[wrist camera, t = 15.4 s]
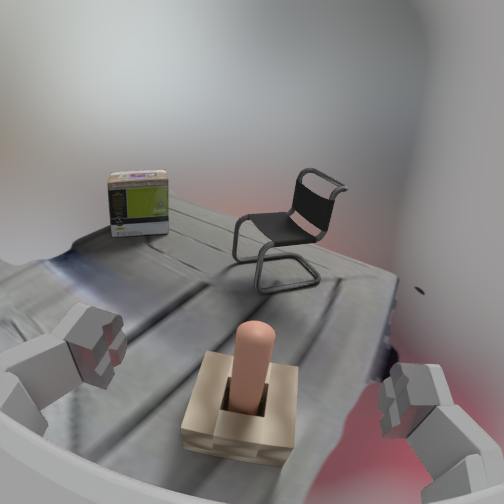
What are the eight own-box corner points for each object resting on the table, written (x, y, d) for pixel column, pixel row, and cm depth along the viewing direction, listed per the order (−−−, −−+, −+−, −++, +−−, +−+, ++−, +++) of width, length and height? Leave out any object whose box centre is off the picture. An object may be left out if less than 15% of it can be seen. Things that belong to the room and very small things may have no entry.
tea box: (165, 218, 86) (166, 168, 79) (168, 235, 78) (169, 179, 71) (113, 221, 81) (110, 170, 74) (110, 238, 73) (106, 181, 65)
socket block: (183, 448, 31) (180, 427, 28) (205, 377, 42) (206, 350, 39) (282, 466, 31) (293, 447, 28) (288, 392, 41) (298, 366, 38)
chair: (326, 283, 67) (351, 187, 56) (253, 297, 60) (270, 186, 49) (296, 254, 77) (314, 167, 66) (230, 262, 70) (240, 165, 59)
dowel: (224, 423, 34) (232, 344, 27) (230, 401, 37) (240, 317, 30) (253, 429, 34) (273, 351, 26) (257, 406, 37) (277, 324, 29)
